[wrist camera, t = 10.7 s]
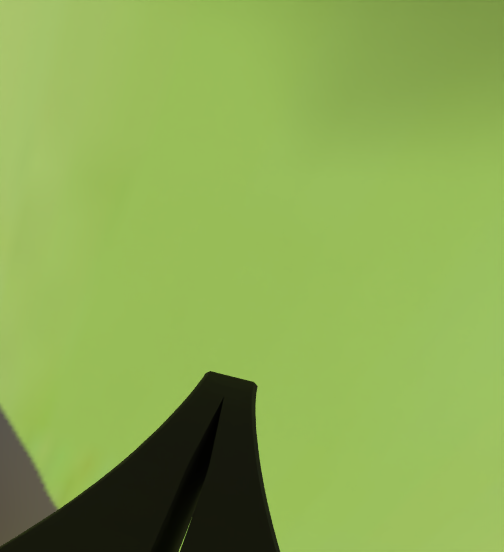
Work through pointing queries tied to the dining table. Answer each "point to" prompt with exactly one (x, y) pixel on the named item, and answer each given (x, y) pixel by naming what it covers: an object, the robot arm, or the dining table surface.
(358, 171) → the dining table surface
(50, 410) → the dining table surface
